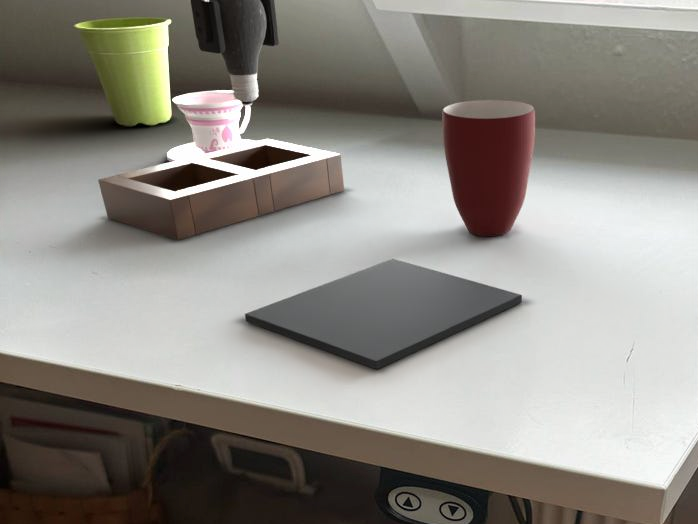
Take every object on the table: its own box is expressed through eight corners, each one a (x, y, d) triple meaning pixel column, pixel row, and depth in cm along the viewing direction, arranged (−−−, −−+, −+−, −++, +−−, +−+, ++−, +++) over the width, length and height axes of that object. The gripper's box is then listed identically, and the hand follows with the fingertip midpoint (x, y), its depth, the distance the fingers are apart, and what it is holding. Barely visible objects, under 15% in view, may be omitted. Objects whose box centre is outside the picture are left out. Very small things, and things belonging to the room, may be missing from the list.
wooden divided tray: (178, 240, 86) (169, 199, 84) (107, 218, 92) (97, 179, 90) (344, 190, 98) (340, 154, 96) (272, 173, 104) (267, 138, 102)
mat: (377, 369, 64) (376, 361, 64) (245, 321, 71) (244, 313, 71) (522, 302, 73) (522, 294, 73) (393, 265, 80) (392, 258, 80)
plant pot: (204, 113, 129) (186, 16, 122) (163, 133, 121) (141, 29, 113) (126, 110, 132) (105, 14, 124) (80, 129, 123) (54, 27, 115)
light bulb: (218, 111, 90) (198, -16, 84) (218, 100, 94) (200, -21, 88) (277, 109, 91) (262, -17, 84) (275, 98, 95) (261, -22, 89)
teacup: (200, 175, 104) (188, 112, 100) (149, 156, 111) (136, 97, 107) (291, 156, 110) (283, 96, 106) (237, 139, 117) (228, 82, 113)
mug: (416, 220, 90) (410, 102, 84) (486, 206, 93) (485, 91, 87) (476, 249, 83) (474, 123, 77) (550, 232, 87) (553, 110, 80)
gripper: (257, -200, 85) (283, 36, 96) (87, -211, 75) (139, 54, 86) (313, -204, 81) (333, 42, 93) (143, -216, 71) (189, 62, 82)
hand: (239, 45), depth 89 cm, fingers closed on light bulb, 5 cm apart
